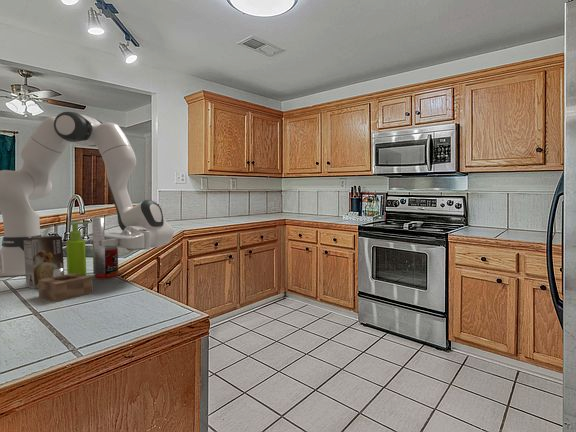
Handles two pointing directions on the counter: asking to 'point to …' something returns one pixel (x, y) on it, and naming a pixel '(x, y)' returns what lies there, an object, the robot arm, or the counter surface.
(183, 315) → the counter surface
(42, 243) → the coffee box
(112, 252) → the canned food
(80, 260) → the soap dispenser
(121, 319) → the counter surface
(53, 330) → the counter surface
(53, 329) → the counter surface
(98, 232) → the long steel dowel
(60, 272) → the short steel dowel
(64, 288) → the walnut socket block
